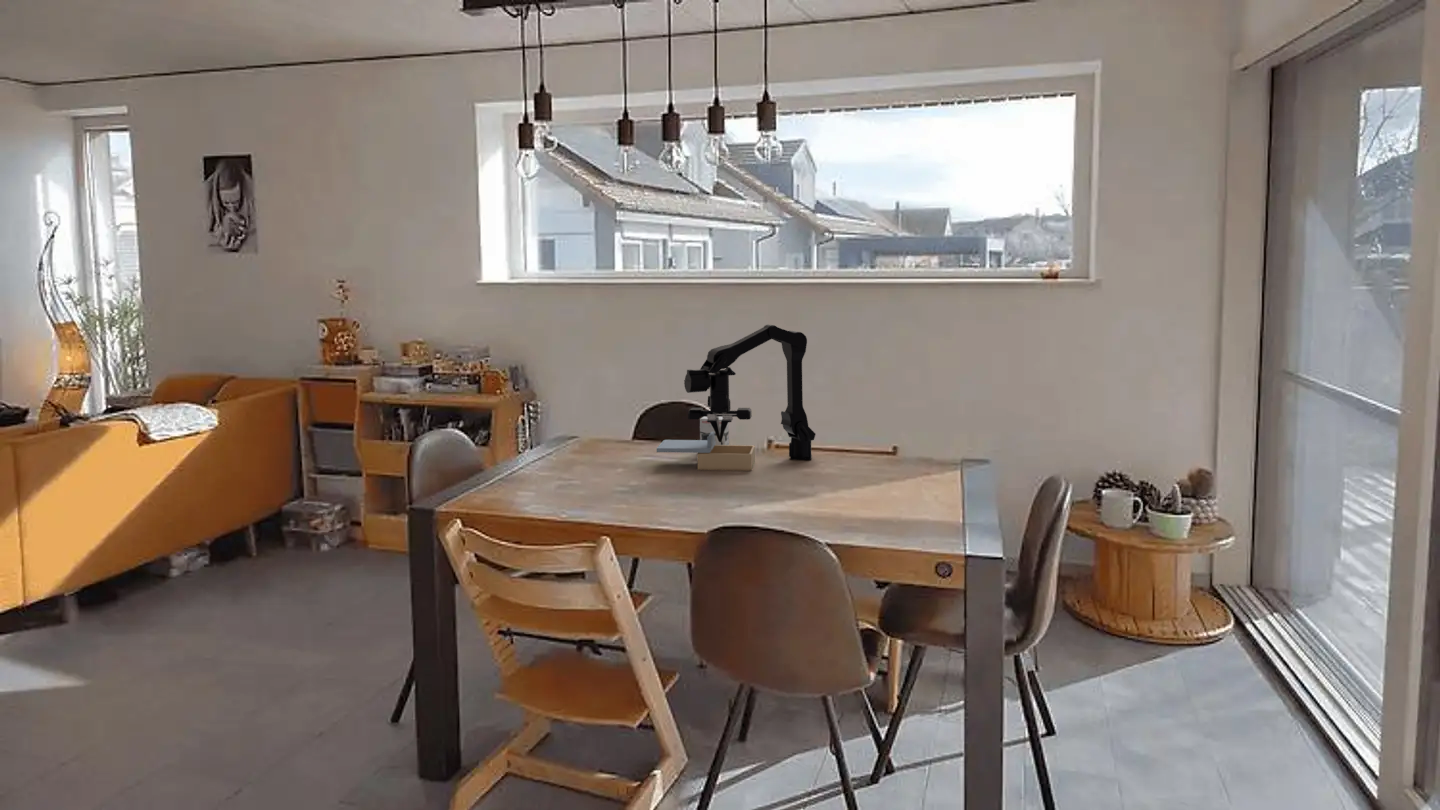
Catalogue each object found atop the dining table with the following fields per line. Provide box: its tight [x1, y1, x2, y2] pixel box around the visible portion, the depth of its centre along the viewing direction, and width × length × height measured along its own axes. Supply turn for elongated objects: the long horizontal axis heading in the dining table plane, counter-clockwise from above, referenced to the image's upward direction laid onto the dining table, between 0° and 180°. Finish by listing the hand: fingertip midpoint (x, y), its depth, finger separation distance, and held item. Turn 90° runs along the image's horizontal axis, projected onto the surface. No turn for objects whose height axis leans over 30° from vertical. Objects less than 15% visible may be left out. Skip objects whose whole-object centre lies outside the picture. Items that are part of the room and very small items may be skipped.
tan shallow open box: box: [697, 444, 756, 472], centre depth 316 cm, size 16×14×5 cm
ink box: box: [699, 417, 730, 445], centre depth 335 cm, size 8×5×12 cm, turn 73°
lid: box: [656, 432, 715, 454], centre depth 317 cm, size 16×14×4 cm
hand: (720, 441), depth 316 cm, fingers closed
